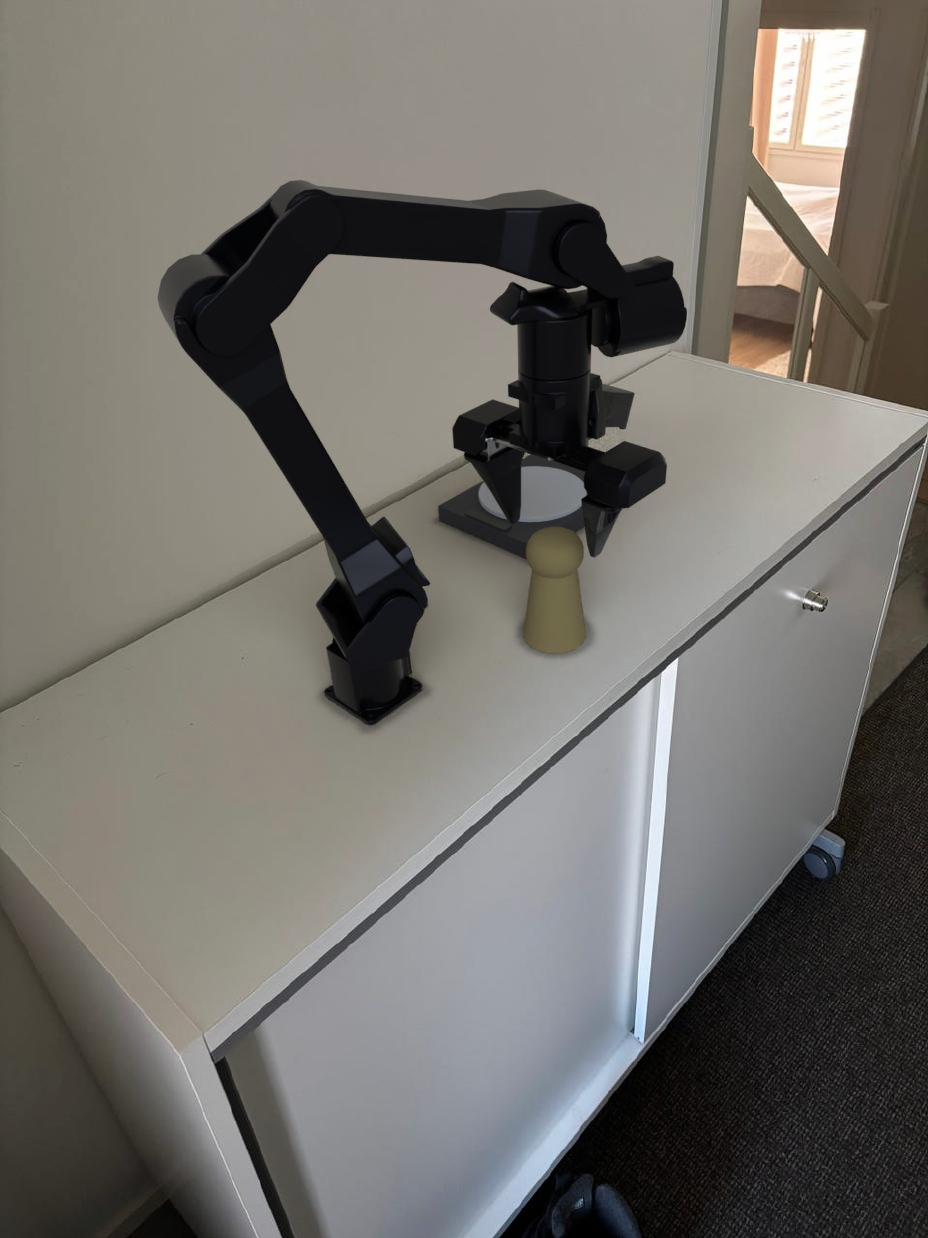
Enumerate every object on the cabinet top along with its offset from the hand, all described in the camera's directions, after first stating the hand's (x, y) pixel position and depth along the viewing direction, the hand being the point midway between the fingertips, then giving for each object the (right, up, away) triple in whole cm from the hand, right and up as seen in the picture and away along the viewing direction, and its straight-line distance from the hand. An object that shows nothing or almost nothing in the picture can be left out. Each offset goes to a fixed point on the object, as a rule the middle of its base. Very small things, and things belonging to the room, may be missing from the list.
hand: (553, 537), depth 82 cm
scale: (0, +6, +26) cm, 26 cm away
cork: (+1, -9, +6) cm, 11 cm away
